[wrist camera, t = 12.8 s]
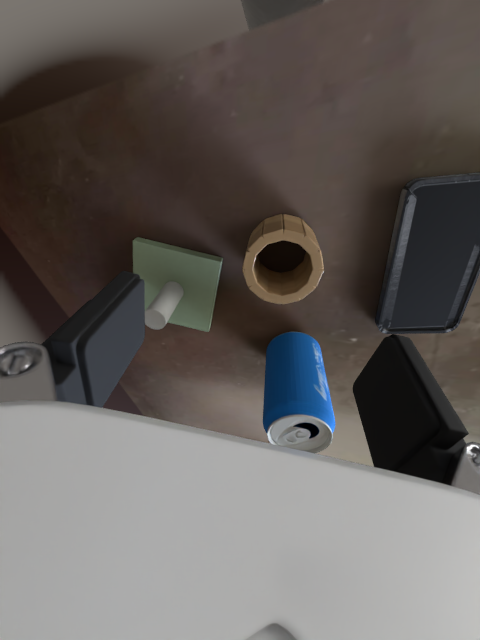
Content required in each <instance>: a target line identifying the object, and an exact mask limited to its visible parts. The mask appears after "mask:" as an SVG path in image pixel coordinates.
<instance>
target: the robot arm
mask: <svg viewBox="0 0 480 640" xmlns="http://www.w3.org/2000/svg"><path fill="white" fill-rule="evenodd" d="M144 336H145V283H144V280H143V279H140V275H139V274H135V273H131V272H127V271H122V272H121V273H119V274H118V275H117V276H116V277H115V278H114V279H113V280H112V281H111V282H110V283H109V284H108V285H107V286H106V287H104V288H103V289H102V290H101V291H100V292H99V293H98V294H97V295H96V296H95V297H94V298H93V299H92V300H89V301H88V302H87V303H86V304H84V305H83V306H82V307H81V308H80V309H79V310H78V311H77V312H76V313H75V314H74V315H73V316H72V317H70V318H69V319H68V320H67V321H66V322H65V323H64V324H63V325H62V326H61V327H60V328H59V329H57V331H56V332H54V333H53V334H52V335H51V336H50V337H49V338H48V339H47V340H46V341H45V342H43V343H42V344H37V343H34V342H17V343H12V344H8V345H5V346H3V347H0V640H480V443H476V442H470V443H467V444H466V443H465V441H464V439H463V438H464V437H465V436H466V435H468V434H469V433H468V432H467V430H466V428H465V427H464V425H463V423H462V422H461V420H460V419H459V417H458V415H457V414H456V412H455V410H454V409H453V407H452V406H451V404H450V402H449V401H448V399H447V398H446V396H445V394H444V393H443V391H442V389H441V388H440V386H439V385H438V383H437V381H436V380H435V378H434V376H433V375H432V373H431V372H430V370H429V368H428V367H427V365H426V364H425V362H424V360H423V359H422V357H421V355H420V354H419V352H418V351H417V349H416V347H415V346H414V344H413V342H412V341H411V340H410V338H407V337H403V336H399V335H395V334H392V335H390V336H389V337H385V338H384V339H383V341H382V342H381V344H380V345H379V347H378V348H377V350H376V351H375V352H374V354H373V355H372V357H371V358H370V360H369V361H368V363H367V364H366V366H365V367H364V369H363V370H362V372H361V373H360V375H359V376H358V378H357V379H356V381H355V382H354V385H353V393H354V396H355V400H356V404H357V407H358V411H359V414H360V418H361V421H362V425H363V428H364V432H365V436H366V439H367V443H368V446H369V450H370V453H371V457H372V460H373V464H374V467H372V466H367V465H363V464H358V463H354V462H350V461H345V460H341V459H336V458H332V457H328V456H323V455H319V454H314V453H310V452H305V451H301V450H296V449H292V448H287V447H283V446H278V445H274V444H269V443H265V442H260V441H256V440H251V439H247V438H242V437H238V436H233V435H229V434H224V433H220V432H215V431H210V430H206V429H201V428H196V427H192V426H187V425H183V424H178V423H173V422H169V421H164V420H159V419H155V418H150V417H145V416H140V415H135V414H130V413H125V412H120V411H115V410H110V409H105V408H102V407H103V405H104V403H105V402H106V400H107V399H108V397H109V396H110V394H111V392H112V391H113V389H114V388H115V386H116V384H117V383H118V381H119V380H120V378H121V376H122V375H123V373H124V372H125V370H126V368H127V367H128V365H129V364H130V362H131V360H132V359H133V357H134V356H135V354H136V352H137V351H138V349H139V348H140V346H141V344H142V343H143V340H144Z"/></svg>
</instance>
